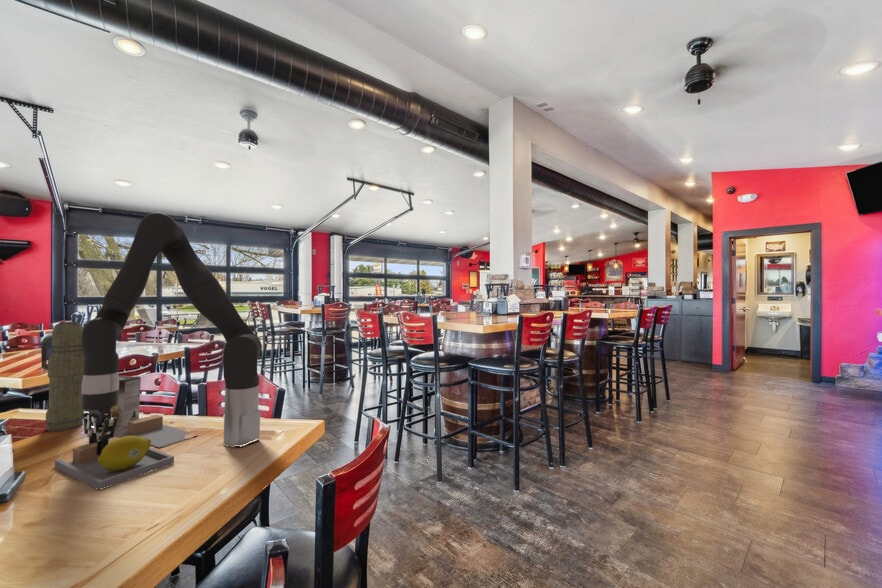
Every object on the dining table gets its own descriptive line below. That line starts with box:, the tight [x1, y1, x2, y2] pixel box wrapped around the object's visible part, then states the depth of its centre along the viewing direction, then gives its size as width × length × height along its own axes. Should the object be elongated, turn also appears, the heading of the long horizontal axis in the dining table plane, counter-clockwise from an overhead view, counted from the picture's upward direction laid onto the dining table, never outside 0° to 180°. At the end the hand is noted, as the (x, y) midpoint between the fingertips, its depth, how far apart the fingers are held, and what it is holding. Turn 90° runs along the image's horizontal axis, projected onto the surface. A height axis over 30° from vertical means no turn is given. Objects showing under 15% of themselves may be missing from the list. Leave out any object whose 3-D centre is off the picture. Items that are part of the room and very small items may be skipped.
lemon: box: [97, 436, 152, 471], centre depth 92 cm, size 11×8×8 cm
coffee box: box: [111, 374, 141, 429], centre depth 124 cm, size 9×6×16 cm
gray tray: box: [54, 436, 175, 490], centre depth 95 cm, size 24×16×4 cm, turn 64°
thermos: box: [41, 321, 85, 432], centre depth 121 cm, size 9×12×35 cm
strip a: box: [120, 414, 191, 449], centre depth 115 cm, size 22×11×4 cm, turn 64°
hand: (98, 451), depth 99 cm, fingers closed on gray tray, 4 cm apart
